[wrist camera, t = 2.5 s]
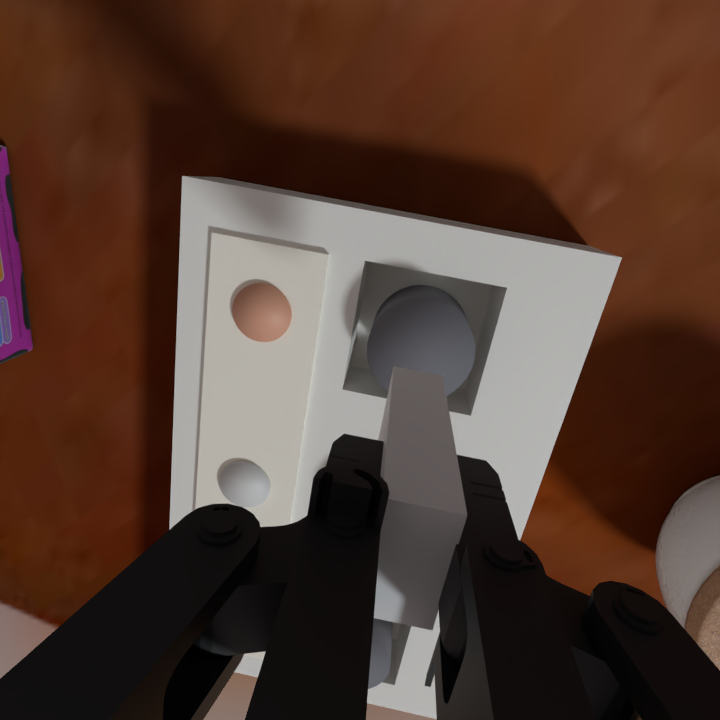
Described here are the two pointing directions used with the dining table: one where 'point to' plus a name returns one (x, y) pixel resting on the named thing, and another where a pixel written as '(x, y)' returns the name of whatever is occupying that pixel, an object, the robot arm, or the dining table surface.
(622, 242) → the dining table surface
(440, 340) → the button
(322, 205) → the button board
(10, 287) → the candy bar box
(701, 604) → the lidded jar
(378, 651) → the button
